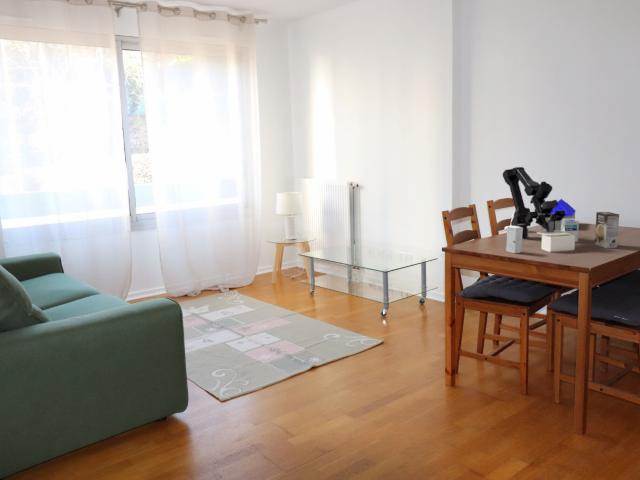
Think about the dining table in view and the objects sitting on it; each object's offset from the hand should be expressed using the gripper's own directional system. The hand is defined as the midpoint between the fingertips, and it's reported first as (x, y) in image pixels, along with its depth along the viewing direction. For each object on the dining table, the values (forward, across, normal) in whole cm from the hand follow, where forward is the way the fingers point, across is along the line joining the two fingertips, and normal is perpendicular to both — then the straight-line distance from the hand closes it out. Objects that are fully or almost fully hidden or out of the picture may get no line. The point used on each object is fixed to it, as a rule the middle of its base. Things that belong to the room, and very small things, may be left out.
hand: (551, 230), depth 274 cm
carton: (+10, 0, +2) cm, 10 cm away
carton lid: (+2, 0, 0) cm, 2 cm away
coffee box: (+9, +26, +3) cm, 28 cm away
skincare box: (+9, -21, +3) cm, 23 cm away
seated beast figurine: (-30, +7, +42) cm, 52 cm away
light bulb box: (-4, +18, +17) cm, 25 cm away
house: (-34, +38, +47) cm, 70 cm away
